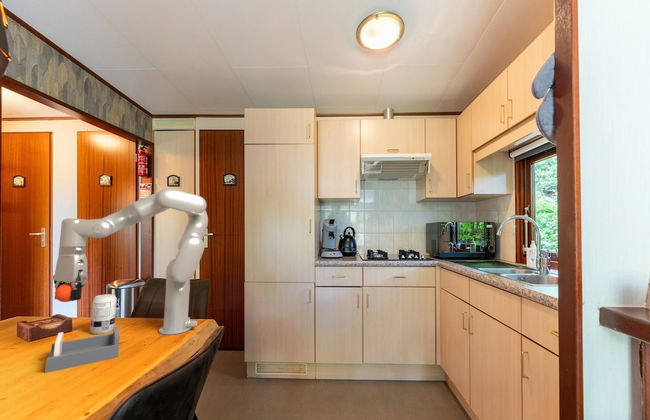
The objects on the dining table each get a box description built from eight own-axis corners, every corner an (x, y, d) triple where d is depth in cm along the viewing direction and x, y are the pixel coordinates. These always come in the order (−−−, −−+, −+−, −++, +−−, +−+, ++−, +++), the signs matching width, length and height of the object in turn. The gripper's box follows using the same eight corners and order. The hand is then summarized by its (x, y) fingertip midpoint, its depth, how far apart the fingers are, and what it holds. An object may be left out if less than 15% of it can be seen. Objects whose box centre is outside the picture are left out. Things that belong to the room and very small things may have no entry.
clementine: (54, 300, 104) (56, 281, 105) (79, 298, 109) (80, 279, 109) (53, 305, 98) (55, 284, 99) (79, 302, 103) (81, 282, 103)
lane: (115, 343, 108) (117, 325, 108) (118, 357, 96) (119, 336, 97) (51, 355, 96) (52, 335, 97) (45, 372, 85) (47, 349, 85)
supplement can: (85, 333, 117) (88, 297, 118) (105, 327, 125) (108, 293, 126) (98, 335, 115) (101, 298, 116) (118, 329, 123) (121, 294, 124)
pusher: (61, 351, 97) (63, 332, 98) (58, 364, 88) (60, 342, 88) (56, 352, 96) (58, 332, 97) (52, 365, 87) (54, 343, 88)
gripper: (100, 251, 106) (96, 299, 105) (66, 249, 111) (62, 295, 109) (78, 252, 99) (73, 303, 98) (43, 251, 104) (38, 299, 102)
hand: (67, 298), depth 104 cm, fingers closed on clementine, 7 cm apart
